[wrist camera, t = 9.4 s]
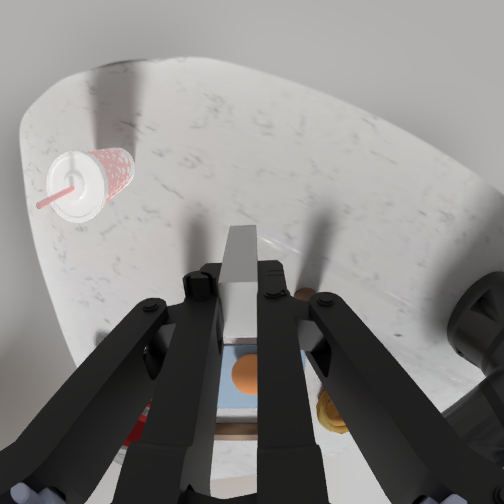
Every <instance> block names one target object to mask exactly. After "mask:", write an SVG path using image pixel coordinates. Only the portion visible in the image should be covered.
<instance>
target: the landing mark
mask: <svg viewBox="0 0 504 504" xmlns="http://www.w3.org/2000/svg"><path fill="white" fill-rule="evenodd" d="M300 351H301V357H302V362H303V368H304V367H305V357H306V355H305V353H304V350H300ZM248 354H257V344H256V345H224V350H223V358H222V367H221V376H220V386H219V395H218V404H217V408H257V394H256V395H250V394H245V393H243V392H241V391H240V390H238V389H237V388H236V386H235V385H234V383H233V381H232V376H231V372H232V368H233V366H234V364H235V362H236V361H237V360H238V359H239V358H241V357H242V356H244V355H248Z"/></svg>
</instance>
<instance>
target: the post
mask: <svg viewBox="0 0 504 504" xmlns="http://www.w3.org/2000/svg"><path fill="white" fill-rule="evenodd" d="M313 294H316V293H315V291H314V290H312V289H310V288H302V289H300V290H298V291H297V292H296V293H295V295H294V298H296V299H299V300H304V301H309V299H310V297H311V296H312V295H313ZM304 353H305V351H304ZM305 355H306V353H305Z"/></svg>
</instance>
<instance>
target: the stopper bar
mask: <svg viewBox="0 0 504 504" xmlns="http://www.w3.org/2000/svg"><path fill="white" fill-rule="evenodd" d="M214 440H229V441H247V440H258V423H248V424H222V423H215V433H214Z"/></svg>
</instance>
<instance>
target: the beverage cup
mask: <svg viewBox="0 0 504 504" xmlns="http://www.w3.org/2000/svg"><path fill="white" fill-rule="evenodd" d="M134 174H135V164H134V161H133V158H132V156H131V155H130V154H129V153H128V152H127V151H126V150H124V149H122V148H107V149H100V150H93V151H68V152H66V153H64V154H62V155H60V156H59V157H57V158H56V160H55V161H54V162H53V164H52V165H51V166H50V168H49V172H48V176H47V179H46V184H47V195H48V198H46V199H44V200H42V201H40V202H38V203H37V204H36V207H37V208H38V209H40V208H42V207H44V206H46V205H48V204H49V203H51V205H52V207H53V208H54V209H55V211H56V212H57V213H58V214H59V216H61V217H62V218H64V219H66V220H68V221H69V222H76V223H82V222H85V221H87V220H90V219H92V218H93V217H94V216H96V215H97V213H98V212H99V211H100V210H101V209H102V208H103V207H104V205H105V203H107V202H108V201H109V200H110V199H111V198H113V197H114V196H115V195H116V194H117V193H119V192H120V191H121V190H122V189H124V188H125V187H126V186H127V185H128V184H129V183H130V182H131V181H132V179H133V176H134Z"/></svg>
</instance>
